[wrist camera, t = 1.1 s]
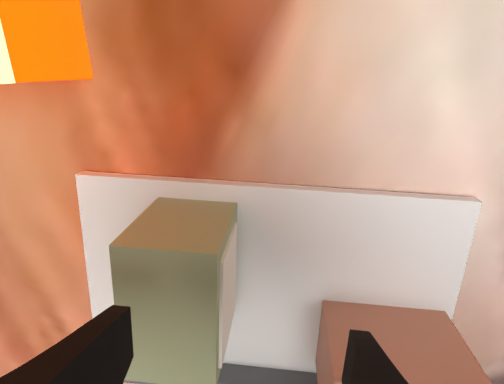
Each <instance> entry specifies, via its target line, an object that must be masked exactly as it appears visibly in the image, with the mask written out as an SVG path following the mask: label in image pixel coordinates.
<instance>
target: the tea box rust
mask: <svg viewBox="0 0 504 384" xmlns="http://www.w3.org/2000/svg"><path fill="white" fill-rule="evenodd" d="M350 329H352V330H362V331H369V332H370V333H371V334H372V335H373V337H374V338H375V339H376V341H377V342H378V344H379V345H380V346H381V348H382V349H383V351H384V352H385V353H386V355H387V356H388V357H389V359H390V360H391V361H392V363H393V364H394V365H395V367H396V368H397V369H398V371H399V372H400V373H401V374H402V376H403V377H404V378H405V380H406V381H407V382H408V383H409V384H492V383H491V382H490V380H489V378H488V377H487V375H486V374H485V372H484V371H483V369H482V368H481V366H480V364H479V363H478V361H477V360H476V358H475V357H474V355H473V354H472V352H471V351H470V349H469V347H468V346H467V344H466V343H465V341H464V340H463V338H462V337H461V335H460V333H459V332H458V330H457V329H456V327H455V326H454V324H453V323H452V321H451V320H450V318H449V316H448V315H447V313H446V312H445V311H438V310H427V309H416V308H405V307H394V306H383V305H372V304H361V303H350V302H339V301H328V300H323V301H322V310H321V318H320V327H319V335H318V343H317V352H316V360H315V362H316V373H317V384H342V380H341V379H342V373H343V367H344V361H345V355H346V349H347V343H348V337H349V331H350Z"/></svg>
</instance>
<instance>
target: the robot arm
mask: <svg viewBox="0 0 504 384" xmlns="http://www.w3.org/2000/svg"><path fill="white" fill-rule="evenodd" d="M133 357H134V353H133V338H132V323H131V308H130V307H129V306H119V305H112V306H110V307H109V308H107V309H106V310H104V311H103V312H101V313H100V314H99V315H97V316H96V317H94V318H93V319H91V320H90V321H89V322H87V323H86V324H84V325H83V326H82V327H80V328H79V329H77V330H76V331H74V332H73V333H71V334H70V335H69V336H67V337H66V338H64V339H63V340H61V341H60V342H58V343H57V344H55V345H54V346H52V347H50V348H49V349H47V350H46V351H44V352H43V353H41V354H39V355H38V356H36V357H35V358H33V359H32V360H30V361H28V362H27V363H25V364H23V365H22V366H20V367H18V368H17V369H15V370H13V371H11V372H10V373H8V374H6V375H4V376H2V377H0V384H123V382H124V379H125V377H126V375H127V372H128V370H129V367H130V365H131V362H132V359H133ZM341 380H342V384H409V383H408V382H407V381H406V380H405V378H404V377H403V376H402V374H401V373H400V372H399V371H398V369H397V368H396V367H395V365H394V364H393V363H392V361H391V360H390V359H389V357H388V356H387V355H386V353H385V352H384V351H383V349H382V348H381V346H380V345H379V344H378V342H377V341H376V339H375V338H374V337H373V335H372V334H371V333H370V332H369V331H362V330H352V329H350V331H349V337H348V343H347V349H346V355H345V361H344V367H343V373H342V379H341Z"/></svg>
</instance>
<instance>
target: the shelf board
mask: <svg viewBox="0 0 504 384" xmlns="http://www.w3.org/2000/svg"><path fill="white" fill-rule="evenodd" d="M75 176H76V185H77V193H78V201H79V210H80V218H81V227H82V235H83V244H84V252H85V260H86V269H87V277H88V286H89V294H90V302H91V311H92V319H93V318H94V317H96V316H97V315H99V314H100V313H101V312H103V311H104V310H106V309H107V308H109V307H110V306H112V305H114V297H113V287H112V276H111V266H110V255H109V245H110V244H111V243H112V242H113V241H114V240H115V239H116V238H117V237H118V236H119V235H120V234H121V233H122V232H123V231H124V230H125V229H126V228H127V227H128V226H129V225H130V224H131V223H132V222H133V221H134V220H135V219H136V218H137V217H138V216H139V215H140V214H141V213H142V212H143V211H144V210H145V209H146V208H148V207H149V206H150V205H151V204H152V203H153V202H154V201H155V200H156V199H157V198H158V197H163V198H177V199H191V200H205V201H219V202H233V203H237V251H236V285H235V311H234V316H233V320H232V325H231V329H230V334H229V338H228V342H227V347H226V351H225V356H224V360H223V365H222V368H221V370H220V375H219V379H218V383H217V384H317V373H316V362H315V360H316V352H317V343H318V335H319V327H320V318H321V310H322V301H323V300H328V301H339V302H350V303H361V304H372V305H383V306H394V307H405V308H416V309H427V310H438V311H445V312H446V313H447V315H448V316H449V318H450V320H451V321H452V318H453V314H454V310H455V306H456V302H457V298H458V295H459V291H460V287H461V283H462V279H463V275H464V271H465V267H466V264H467V260H468V256H469V252H470V248H471V244H472V240H473V236H474V232H475V229H476V225H477V221H478V217H479V213H480V209H481V205H482V202H481V201H480V200H478V199H477V198H476V197H467V196H452V195H437V194H422V193H407V192H392V191H377V190H362V189H347V188H332V187H317V186H302V185H287V184H272V183H257V182H242V181H227V180H212V179H197V178H182V177H167V176H152V175H137V174H122V173H107V172H92V171H82V172H80V173H77V174H75ZM124 382H126V383H135V384H156V383H147V382H138V381H129V380H124Z"/></svg>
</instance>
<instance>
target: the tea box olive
mask: <svg viewBox="0 0 504 384" xmlns="http://www.w3.org/2000/svg"><path fill="white" fill-rule="evenodd" d="M236 251H237V203H233V202H219V201H205V200H191V199H177V198H163V197H158V198H157V199H156V200H155V201H154V202H153V203H152V204H151V205H150V206H149V207H148V208H146V209H145V210H144V211H143V212H142V213H141V214H140V215H139V216H138V217H137V218H136V219H135V220H134V221H133V222H132V223H131V224H130V225H129V226H128V227H127V228H126V229H125V230H124V231H123V232H122V233H121V234H120V235H119V236H118V237H117V238H116V239H115V240H114V241H113V242H112V243H111V244H110V245H109V255H110V266H111V276H112V287H113V297H114V305H119V306H129V307H130V308H131V323H132V338H133V353H134V357H133V359H132V362H131V365H130V367H129V370H128V372H127V375H126V377H125V379H124V380H129V381H138V382H147V383H156V384H217V383H218V379H219V375H220V370H221V368H222V365H223V360H224V356H225V351H226V347H227V342H228V338H229V334H230V329H231V325H232V320H233V316H234V311H235V285H236Z"/></svg>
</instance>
